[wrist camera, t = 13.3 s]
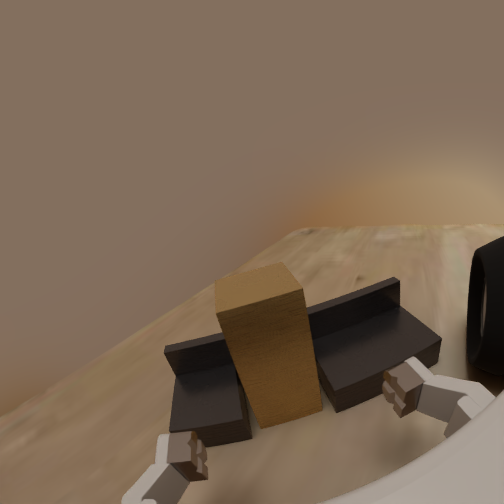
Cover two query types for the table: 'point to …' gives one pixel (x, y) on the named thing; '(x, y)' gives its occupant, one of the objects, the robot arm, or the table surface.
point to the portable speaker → (486, 308)
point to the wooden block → (270, 342)
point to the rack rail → (326, 356)
